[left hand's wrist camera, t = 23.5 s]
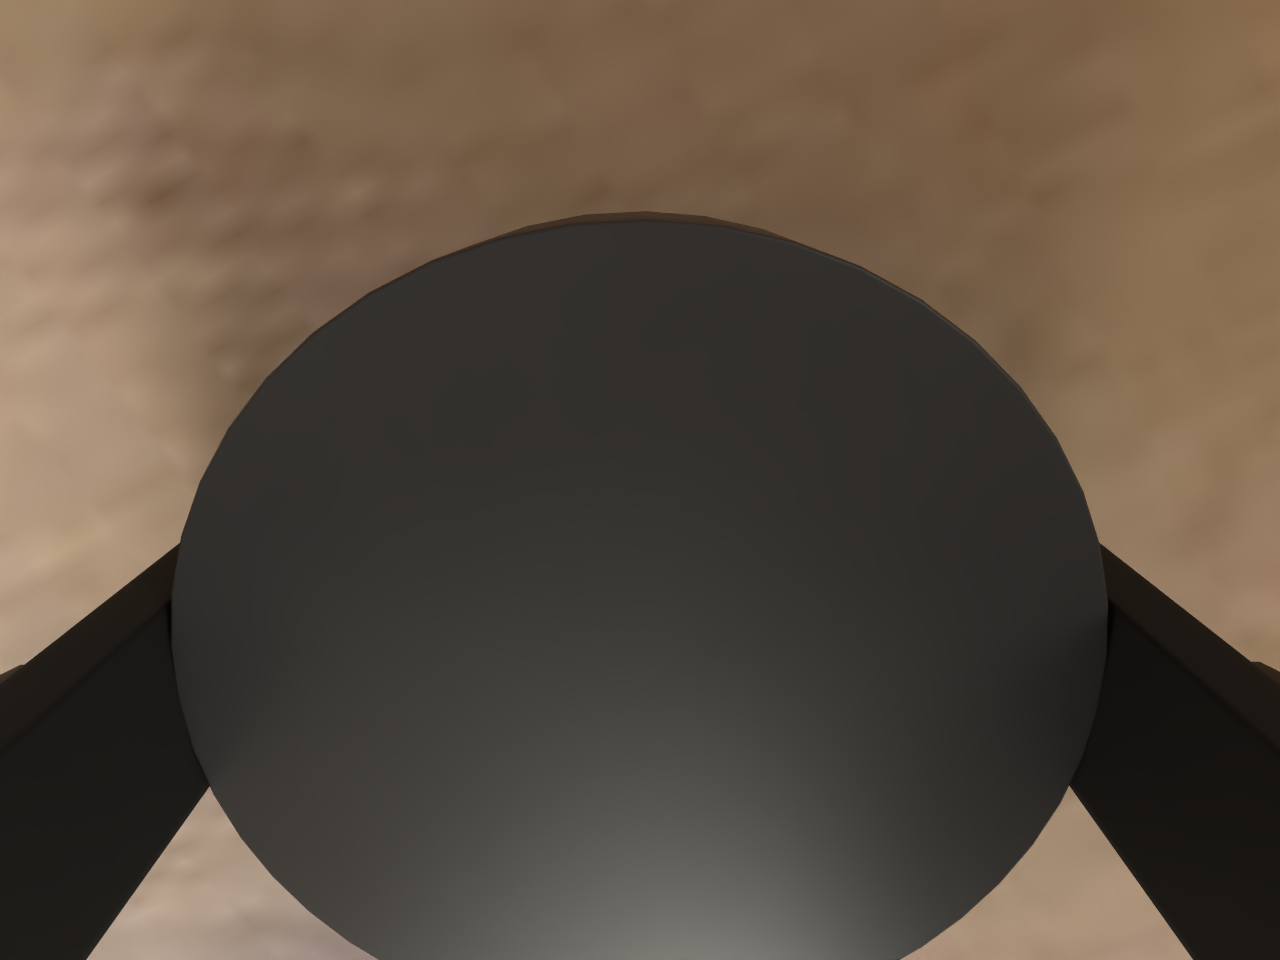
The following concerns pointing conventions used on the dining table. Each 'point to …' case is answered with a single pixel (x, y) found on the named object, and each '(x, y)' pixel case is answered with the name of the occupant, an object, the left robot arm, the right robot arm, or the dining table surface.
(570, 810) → the lid
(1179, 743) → the left robot arm
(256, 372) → the dining table surface
